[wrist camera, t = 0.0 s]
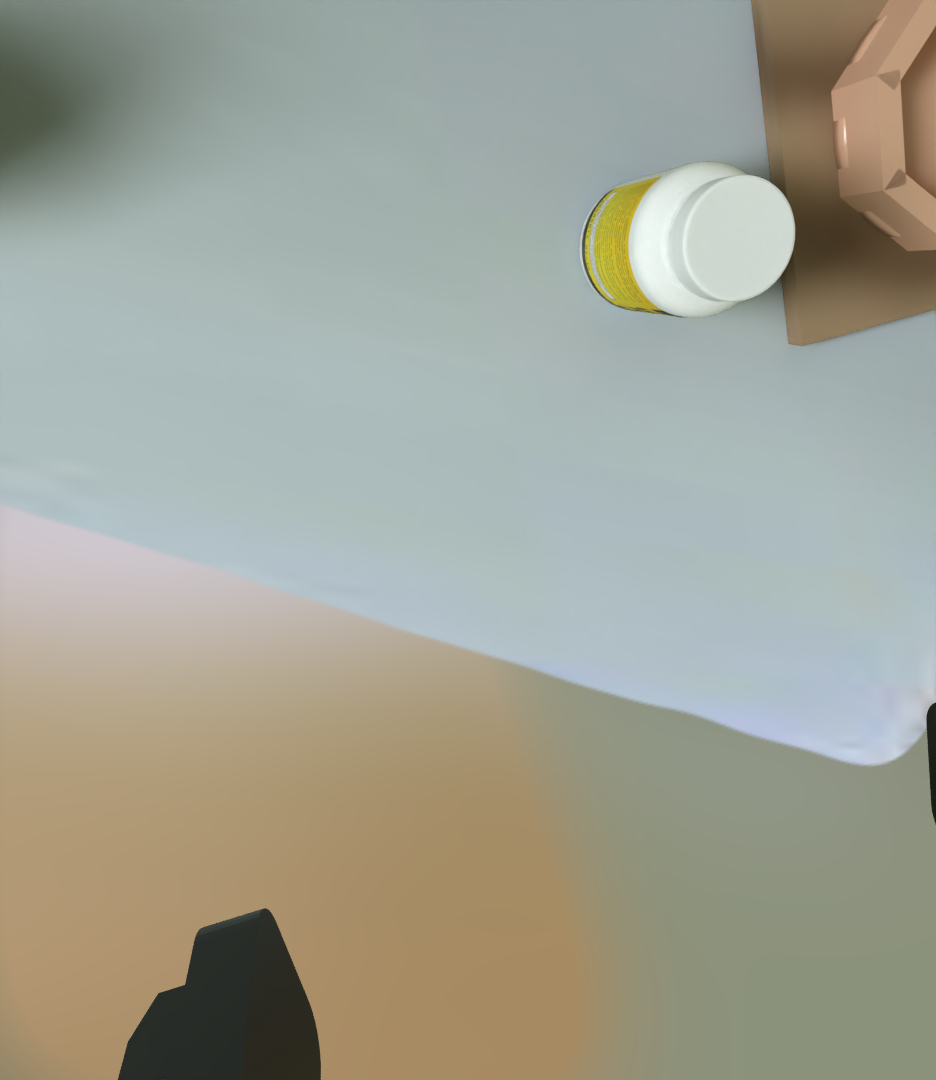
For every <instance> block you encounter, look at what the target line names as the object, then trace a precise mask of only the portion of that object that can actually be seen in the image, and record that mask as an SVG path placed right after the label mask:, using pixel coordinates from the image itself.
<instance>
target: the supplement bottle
mask: <svg viewBox="0 0 936 1080" xmlns="http://www.w3.org/2000/svg"><path fill="white" fill-rule="evenodd" d="M794 242H795V222H794V217H793V213H792V209H791V207H790V204H789V202H788V200H787V199H786V197H785V196H784V194H783V193H782V192H781V191H780V190H779V189H778V188H777V187H776V186H775V185H774V184H772V183H771V182H769V181H767V180H765V179H763V178H761V177H758V176H754V175H747V174H745V173H744V172H742V171H741V170H739V169H737V168H735V167H733V166H731V165H728V164H724V163H720V162H710V161H707V162H697V163H690V164H686V165H683V166H680V167H677V168H673V169H670V170H666V171H663V172H659V173H655V174H652V175H648V176H645V177H641V178H637V179H634V180H631V181H628V182H625V183H622V184H620V185H618V186H616V187H614V188H612V189H611V190H609V191H608V192H607V193H605V194H604V195H603V196H602V197H601V198H600V199H599V200H598V201H597V202H596V203H595V205H594V206H593V207H592V209H591V210H590V212H589V214H588V216H587V218H586V220H585V222H584V225H583V228H582V232H581V237H580V260H581V265H582V269H583V272H584V274H585V276H586V278H587V280H588V282H589V284H590V285H591V287H592V288H593V290H594V291H595V292H596V293H597V294H598V295H599V296H600V297H601V298H602V299H604V300H605V301H606V302H608V303H610V304H612V305H614V306H616V307H619V308H623V309H627V310H632V311H640V312H648V313H655V314H664V315H670V316H676V317H690V318H699V317H707V316H712V315H716V314H718V313H721V312H723V311H726V310H728V309H730V308H731V307H733V306H735V305H736V304H737V303H739V302H740V301H744V300H747V299H750V298H753V297H755V296H757V295H759V294H761V293H763V292H764V291H766V290H767V289H768V288H770V287H771V286H772V285H773V284H774V283H775V282H776V281H777V280H778V278H779V277H780V276H781V274H782V273H783V271H784V270H785V268H786V267H787V265H788V263H789V260H790V258H791V255H792V252H793V248H794Z"/></svg>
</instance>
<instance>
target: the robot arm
mask: <svg viewBox="0 0 936 1080" xmlns="http://www.w3.org/2000/svg"><path fill="white" fill-rule="evenodd" d="M927 738H928V756H929V773H930V789H931V806H932V813H933V817H934V820H935V823H936V703H934V704H932V705H931V706H930V708H929V710H928V712H927ZM320 1078H321V1061H320V1049H319V1041H318V1034H317V1029H316V1024H315V1020H314V1016H313V1012H312V1009H311V1006H310V1003H309V1001H308V998H307V996H306V993H305V991H304V989H303V986H302V984H301V981H300V979H299V976H298V974H297V972H296V969H295V967H294V964H293V962H292V959H291V957H290V955H289V952H288V950H287V947H286V945H285V942H284V940H283V938H282V935H281V933H280V930H279V928H278V926H277V923H276V921H275V919H274V917H273V915H272V914H271V912H270V911H269V910H268V909H261V910H258V911H255V912H252V913H248V914H245V915H242V916H238V917H235V918H232V919H229V920H226V921H222V922H219V923H216V924H213V925H209V926H206V927H203V928H201V929H200V930H199V931H198V933H197V935H196V937H195V941H194V945H193V950H192V955H191V960H190V965H189V969H188V974H187V979H186V984H185V985H184V986H180V987H177V988H174V989H171V990H168V991H164V992H161V993H159V994H158V995H157V997H156V998H155V1000H154V1001H153V1003H152V1005H151V1006H150V1008H149V1009H148V1011H147V1013H146V1014H145V1016H144V1017H143V1019H142V1021H141V1022H140V1024H139V1025H138V1027H137V1028H136V1030H135V1032H134V1033H133V1035H132V1036H131V1038H130V1040H129V1041H128V1044H127V1048H126V1051H125V1055H124V1059H123V1063H122V1066H121V1070H120V1074H119V1078H118V1080H321V1079H320Z"/></svg>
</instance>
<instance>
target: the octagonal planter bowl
mask: <svg viewBox="0 0 936 1080" xmlns="http://www.w3.org/2000/svg"><path fill="white" fill-rule="evenodd" d="M831 96H832V108H833V120H834V123H833V146H834V153H835V160H836V165H837V169H838V180H839V192H840V198H841V199H842V200H844V201H845V202H846V203H848V204H849V205H850V206H851V207H853V208H854V209H855V210H856V211H858V212H859V213H860V215H861V216H862V217H863V218H864V219H865V220H866V221H867V222H868V223H869V224H870V225H871V226H873V227H874V228H875V229H877V230H878V231H880V232H881V233H883V234H884V235H887V236H889V237H890V238H892V239H893V240H894V241H895V242H897V243H898V244H899V245H901V246H902V247H903V248H904V249H906V250H907V251H922V250H936V0H888V2H887V4H886V5H885V7H884V8H883V10H882V11H881V13H880V15H879V16H878V18H877V19H876V21H875V22H874V23H873V24H872V25H871V26H870V28H869V29H868V31H867V32H866V34H865V35H864V36H863V38H862V39H861V41H860V42H859V44H858V46H857V47H856V49H855V51H854V53H853V55H852V56H851V58H850V61H849V63H848V65H847V67H846V69H845V70H844V72H843V73H842V75H841V77H840V78H839V80H838V81H837V83H836V85H835V86H834V88H833V89H832V92H831Z"/></svg>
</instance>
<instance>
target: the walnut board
mask: <svg viewBox="0 0 936 1080" xmlns="http://www.w3.org/2000/svg"><path fill="white" fill-rule="evenodd" d="M751 2H752V11H753V20H754V30H755V39H756V48H757V57H758V66H759V75H760V85H761V94H762V103H763V112H764V121H765V130H766V140H767V149H768V158H769V167H770V176H771V183H772V184H774V185H775V186H776V187H777V188H778V189H779V190H780V191H781V192H782V193H783V194H784V196H785V197H786V199H787V200H788V202H789V204H790V207H791V209H792V213H793V217H794V222H795V242H794V248H793V252H792V255H791V258H790V260H789V263H788V265H787V267H786V268H785V270H784V271H783V273H782V274H781V277H782V286H783V295H784V304H785V314H786V323H787V332H788V341H789V344H792V345H798V346H805V345H808V344H812V343H816V342H819V341H823V340H826V339H830V338H834V337H837V336H841V335H844V334H848V333H851V332H855V331H859V330H862V329H866V328H869V327H873V326H877V325H880V324H884V323H887V322H891V321H895V320H898V319H902V318H905V317H909V316H913V315H916V314H920V313H923V312H927V311H931V310H934V309H936V250H922V251H907V250H906V249H904V248H903V247H902V246H901V245H899V244H898V243H897V242H895V241H894V240H893V239H892V238H890V237H889V236H887V235H884V234H883V233H881V232H880V231H878V230H877V229H875V228H874V227H873V226H871V225H870V224H869V223H868V222H867V221H866V220H865V219H864V218H863V217H862V216H861V215H860V213H859V212H858V211H856V210H855V209H854V208H853V207H851V206H850V205H849V204H848V203H846V202H845V201H844V200H842V199H841V198H840V192H839V180H838V169H837V165H836V160H835V153H834V146H833V123H834V120H833V108H832V96H831V92H832V89H833V88H834V86H835V85H836V83H837V81H838V80H839V78H840V77H841V75H842V73H843V72H844V70H845V69H846V67H847V65H848V63H849V61H850V58H851V56H852V55H853V53H854V51H855V49H856V47H857V46H858V44H859V42H860V41H861V39H862V38H863V36H864V35H865V34H866V32H867V31H868V29H869V28H870V26H871V25H872V24H873V23H874V22H875V21H876V19H877V18H878V16H879V15H880V13H881V11H882V10H883V8H884V7H885V5H886V4H887V2H888V0H751Z"/></svg>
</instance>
